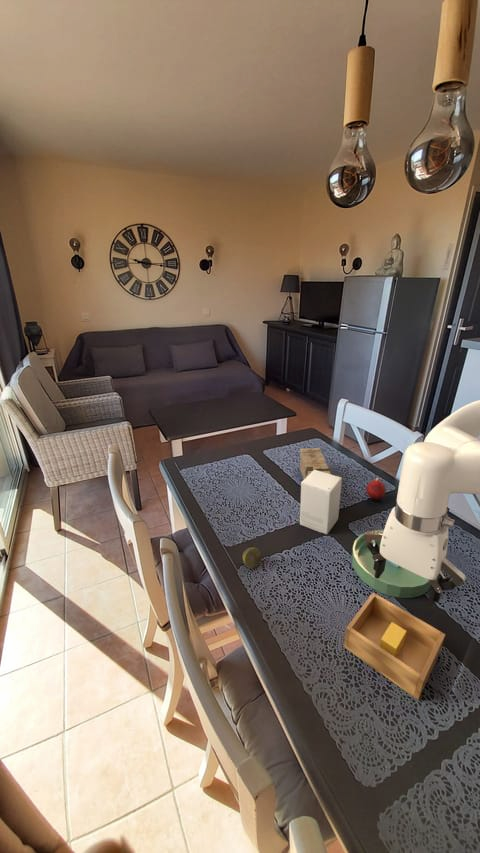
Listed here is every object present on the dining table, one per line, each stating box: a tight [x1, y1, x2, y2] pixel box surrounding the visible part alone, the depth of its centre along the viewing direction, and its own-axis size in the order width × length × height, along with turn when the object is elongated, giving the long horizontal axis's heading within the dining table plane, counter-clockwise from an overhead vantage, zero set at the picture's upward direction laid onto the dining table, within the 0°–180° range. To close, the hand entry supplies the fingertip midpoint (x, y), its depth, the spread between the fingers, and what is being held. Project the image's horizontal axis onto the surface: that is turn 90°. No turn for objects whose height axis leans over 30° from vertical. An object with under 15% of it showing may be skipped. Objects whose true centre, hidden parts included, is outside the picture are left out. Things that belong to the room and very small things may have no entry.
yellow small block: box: [380, 622, 407, 657], centre depth 71 cm, size 3×5×4 cm, turn 136°
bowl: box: [351, 529, 432, 599], centre depth 91 cm, size 19×19×4 cm
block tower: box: [299, 447, 332, 480], centre depth 124 cm, size 8×8×29 cm
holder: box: [343, 592, 446, 701], centre depth 71 cm, size 15×12×6 cm
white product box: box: [299, 470, 343, 535], centre depth 106 cm, size 9×9×15 cm
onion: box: [365, 477, 386, 501], centre depth 117 cm, size 6×6×8 cm
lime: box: [242, 547, 262, 570], centre depth 93 cm, size 4×5×5 cm
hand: (404, 587), depth 68 cm, fingers open, 9 cm apart
